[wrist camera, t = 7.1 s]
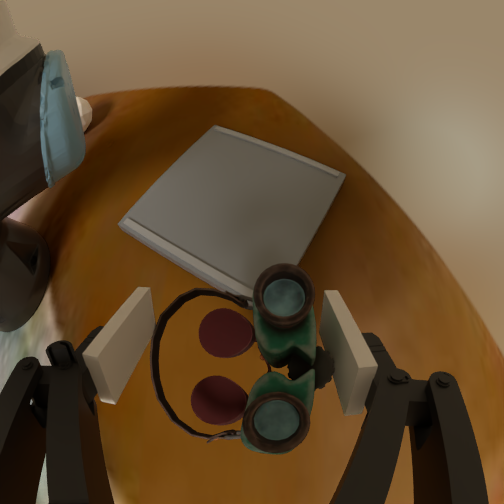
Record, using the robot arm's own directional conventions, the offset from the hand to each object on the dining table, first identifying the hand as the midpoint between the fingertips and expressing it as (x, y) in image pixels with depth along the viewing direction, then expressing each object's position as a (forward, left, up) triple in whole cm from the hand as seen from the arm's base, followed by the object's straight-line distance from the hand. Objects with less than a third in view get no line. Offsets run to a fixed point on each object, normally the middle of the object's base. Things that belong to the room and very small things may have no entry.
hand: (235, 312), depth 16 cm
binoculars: (+1, -3, -4) cm, 5 cm away
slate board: (-10, +13, -11) cm, 20 cm away
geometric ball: (-46, +14, -12) cm, 49 cm away
